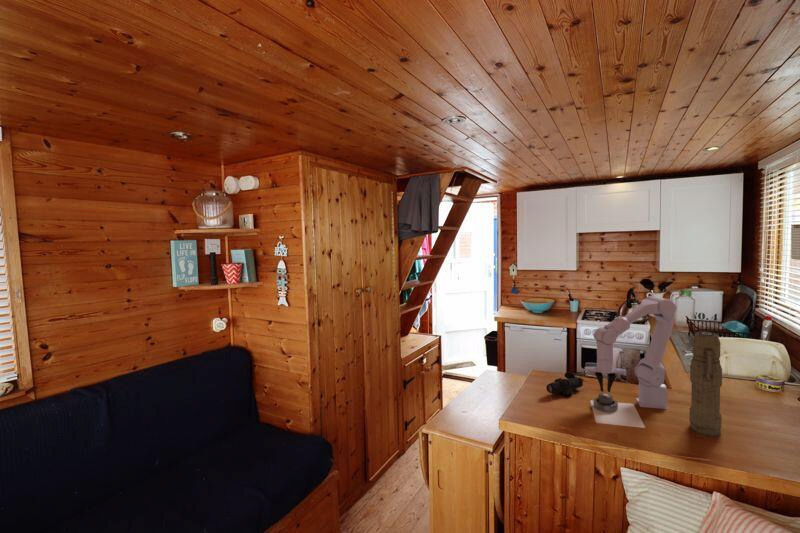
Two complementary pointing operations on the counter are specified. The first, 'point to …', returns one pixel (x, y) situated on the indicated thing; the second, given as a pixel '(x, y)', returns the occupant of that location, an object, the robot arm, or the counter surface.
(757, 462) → the counter surface
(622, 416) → the mat
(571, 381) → the night vision scope
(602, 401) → the cap
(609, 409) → the grey bowl
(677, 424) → the counter surface
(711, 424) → the brown tall rounded block
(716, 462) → the counter surface
